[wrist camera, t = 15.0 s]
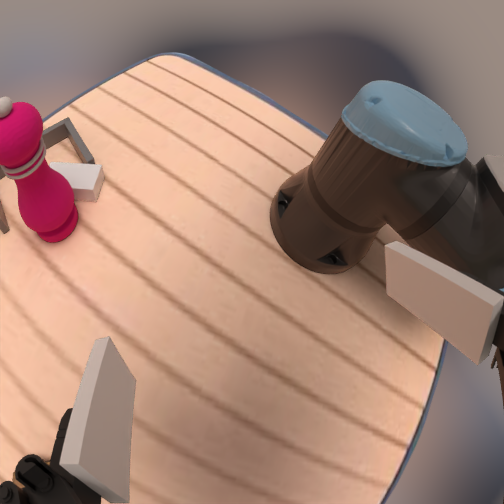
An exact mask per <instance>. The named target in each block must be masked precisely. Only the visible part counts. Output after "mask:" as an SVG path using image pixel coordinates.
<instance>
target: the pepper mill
mask: <svg viewBox="0 0 504 504" xmlns="http://www.w3.org/2000/svg"><path fill="white" fill-rule="evenodd" d="M42 133H43V122H42V119H41V116H40V114H39V112H38V111H37V109H35V107H34V106H32V105H31V104H28V103H25V102H17V103H13V104H12V101H11V99H10V98H8V97H2V98H0V165H1V168H2V170H3V171H4V173H5V175H6V176H7V177H8V178H10V179H14V180H15V183H16V185H17V188H18V206H19V210H20V214H21V217H22V219H23V220H24V222H25V224H26V225H27V226H28V227H29V228H30V229H32V230H34V231H36V232H37V234H38V235H39V236H40V237H41V238H42V239H43V240H45V241H47V242H58V241H61V240H63V239H65V238H66V237H67V236H69V235H70V234H71V232H72V231H73V230H74V228H75V226H76V224H77V220H78V212H77V208H76V206H75V204H74V193H73V189H72V187H71V185H70V184H69V182H68V180H67V179H66V178H65V177H64V176H63V175H62V174H60V173H59V172H57V171H55V170H53V169H52V168H50V167H49V166H48V164H47V162H46V160H45V155H46V146H45V144H44V141H43V138H42V137H41V136H42Z"/></svg>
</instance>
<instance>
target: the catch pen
mask: <svg viewBox="0 0 504 504" xmlns="http://www.w3.org/2000/svg"><path fill="white" fill-rule="evenodd" d="M41 137H42V138H43V141H44V144H45V146H46V149H47V148H49V147H51V146H53V145H54V144H56V143H58V142H60V141H61V140H63V139H65V138H67V137H69V139H70V141H71V143H72V144H73V146H74V148H75V150H76V151H77V153H78V155H79V157H80V158H81V160H82V162H83V163H84V164H95V162H94V158H93V156H92V155H91V153H90V152H89V150H88V148H87V147H86V145H85V144H84V142H83V140H82V139H81V137H80V136H79V134H78V132H77V131H76V129H75V127H74V126H73V124H72V122H71V121H70V119H69V117H68V118H66V119H64V120H62V121H60V122H58V123H56V124H54V125H53V126H51V127H49V128H47V129H45V130H44V131H43V133H42V136H41ZM4 176H6V175H5V173H4V171H3V170H2V168H1V165H0V179H2V178H3V177H4ZM0 230H1V231H2V232H3V233H4V234H5V233H6V232H7V231H9V227H8V224H7V221H6V218H5V214H4V211H3V208H2V205H1V201H0Z"/></svg>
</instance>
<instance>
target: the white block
mask: <svg viewBox="0 0 504 504" xmlns="http://www.w3.org/2000/svg"><path fill="white" fill-rule="evenodd" d="M49 167H50V168H52V169H53V170H55V171H57V172H59V173H60V174H62V175H63V176H64V177H65V178H66V179H67V180H68V182H69V184H70V185H71V187H72V189H73V193H74V200H81V201H92V202H97V200H98V196H99V193H100V190H101V187H102V184H103V181H104V178H105V177H104V172H103V168H102V165H97V164H82V163H63V162H51V163H50V165H49Z"/></svg>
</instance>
